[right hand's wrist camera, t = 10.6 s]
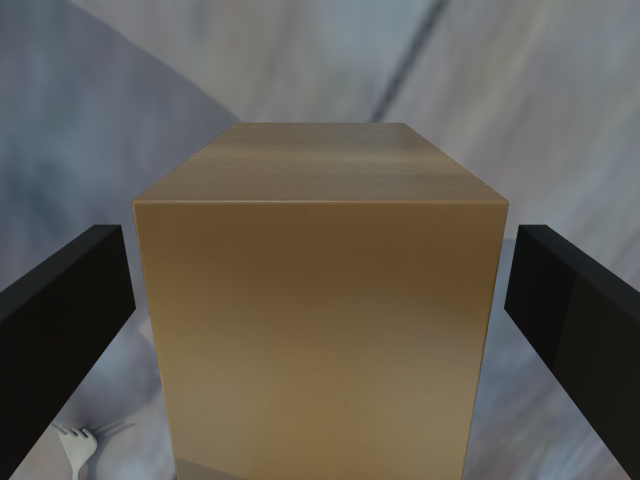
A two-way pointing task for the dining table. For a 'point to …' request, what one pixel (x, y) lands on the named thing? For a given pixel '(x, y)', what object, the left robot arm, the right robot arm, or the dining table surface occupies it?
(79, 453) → the fork
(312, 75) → the dining table surface
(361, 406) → the bar
